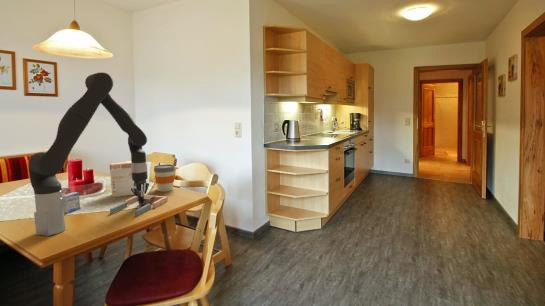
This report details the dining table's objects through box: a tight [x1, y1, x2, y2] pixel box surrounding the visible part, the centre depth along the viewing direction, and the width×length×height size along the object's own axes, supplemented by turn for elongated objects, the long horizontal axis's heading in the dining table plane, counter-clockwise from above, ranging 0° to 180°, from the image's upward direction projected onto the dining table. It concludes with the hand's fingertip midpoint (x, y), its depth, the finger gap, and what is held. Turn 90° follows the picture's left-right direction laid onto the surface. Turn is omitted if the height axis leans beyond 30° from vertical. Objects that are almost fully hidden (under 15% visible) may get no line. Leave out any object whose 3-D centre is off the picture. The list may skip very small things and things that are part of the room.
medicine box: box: [62, 191, 81, 214], centre depth 156 cm, size 8×4×9 cm, turn 168°
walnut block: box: [138, 194, 156, 206], centre depth 169 cm, size 6×6×4 cm
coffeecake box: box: [109, 160, 135, 198], centre depth 185 cm, size 15×7×20 cm, turn 114°
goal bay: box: [123, 194, 169, 209], centre depth 169 cm, size 12×18×2 cm
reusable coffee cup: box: [153, 164, 176, 192], centre depth 196 cm, size 13×13×15 cm
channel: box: [109, 201, 152, 217], centre depth 156 cm, size 11×15×2 cm
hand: (141, 202), depth 164 cm, fingers closed
